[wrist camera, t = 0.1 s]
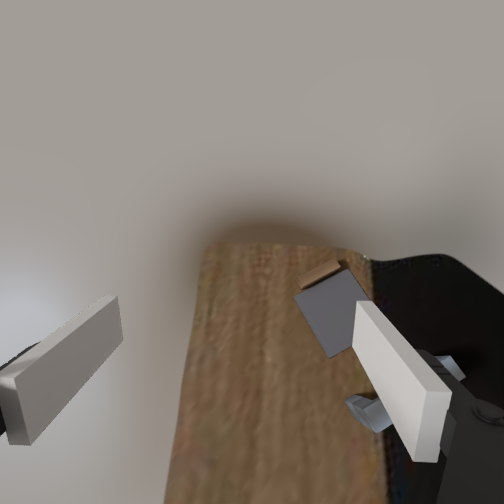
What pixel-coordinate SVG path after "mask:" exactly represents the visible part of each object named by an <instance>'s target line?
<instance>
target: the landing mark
mask: <svg viewBox="0 0 504 504" xmlns="http://www.w3.org/2000/svg"><path fill="white" fill-rule="evenodd" d="M294 299H295V301H296V303H297V304H298V306H299V308H300V310H301V311H302V313H303V315H304V317H305V318H306V320H307V322H308V323H309V325H310V327H311V329H312V330H313V332H314V334H315V336H316V337H317V339H318V341H319V342H320V344H321V346H322V348H323V349H324V351H325V353H326V355H327V356H328V358H331V357H333V356H335V355H336V354H338V353H340V352H341V351H343V350H345V349H347V348H348V347H350V346H352V343H353V333H354V324H355V314H356V304H357V301H370V300H369V298H368V297H367V295H366V294H365V292H364V291H363V290H362V288H361V287H360V285H359V284H358V282H357V281H356V279H355V278H354V276H353V275H352V273H351V272H350V270H349V269H348V268H347V269H345V270H343V271H341V272H340V273H338V274H336V275H334V276H332V277H330V278H328V279H326V280H324V281H323V282H321V283H319V284H317V285H315V286H313V287H311V288H309V289H307V290H306V291H304V292H302V293H300V294H298V295H296V296H294Z"/></svg>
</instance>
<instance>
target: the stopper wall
mask: <svg viewBox="0 0 504 504" xmlns="http://www.w3.org/2000/svg"><path fill="white" fill-rule="evenodd" d="M340 267H341V266H340V265H339V263H338V262H337V260H336V259H335V258H333V259H331V260H329V261H327V262H325V263H323V264H322V265H320V266H318V267H316V268H314V269H312V270H310V271H308V272H306V273H304V274H302V275H300V276H298V277H297V279H296V282H297V284H298V285H299V287H300V289H301V290H302V289H304V288H306V287H308V286H310V285H311V284H313V283H315V282H317V281H319V280H321V279H323V278H325V277H327V276H329V275H330V274H332V273H334V272H336V271H338V269H339V268H340Z"/></svg>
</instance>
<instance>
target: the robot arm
mask: <svg viewBox="0 0 504 504" xmlns="http://www.w3.org/2000/svg"><path fill="white" fill-rule="evenodd" d="M122 341H123V335H122V327H121V319H120V312H119V304H118V297H117V296H103V297H102V298H100V299H99V300H98V301H96V302H95V303H94V304H92V305H91V306H89V307H88V308H87V309H85V310H84V311H83V312H81V313H80V314H78V315H77V316H76V317H74V318H73V319H72V320H70V321H69V322H67V323H66V324H65V325H63V326H62V327H60V328H59V329H58V330H56V331H55V332H54V333H52V334H51V335H49V336H48V337H47V338H46V339H44V340H42V341H40V342H39V343H36V344H34V345H32V346H30V347H28V348H26V349H25V350H24V351H22V352H21V353H19V354H18V355H17V357H14V358H12V359H11V360H9V361H8V363H5V364H4V365H2V366H1V367H0V436H1V435H2V434H3V433H4V432H5V431H6V433H7V437H8V441H9V444H10V445H31V444H32V443H33V442H34V441H35V440H36V439H37V438H38V436H39V435H40V434H41V433H42V432H43V431H44V430H45V429H46V427H47V426H48V425H49V424H50V423H51V422H52V420H53V419H54V418H55V417H56V416H57V415H58V414H59V413H60V411H61V410H62V409H63V408H64V407H65V406H66V405H67V403H68V402H69V401H70V400H71V399H72V398H73V397H74V396H75V394H76V393H77V392H78V391H79V390H80V389H81V388H82V386H83V385H84V384H85V383H86V382H87V381H88V380H89V379H90V377H91V376H92V375H93V374H94V373H95V372H96V371H97V369H98V368H99V367H100V366H101V365H102V364H103V363H104V361H105V360H106V359H107V358H108V357H109V356H110V355H111V353H112V352H113V351H114V350H115V349H116V348H117V347H118V345H119V344H120V343H121V342H122ZM352 347H353V349H354V350H355V352H356V354H357V356H358V358H359V360H360V362H361V364H362V366H363V367H364V369H365V371H366V373H367V375H368V377H369V379H370V381H371V383H372V384H373V386H374V388H375V390H376V392H377V394H378V396H379V398H380V399H381V401H382V403H383V405H384V407H385V409H386V411H387V413H388V415H389V416H390V418H391V420H392V422H393V424H394V426H395V428H396V430H397V432H398V433H399V435H400V437H401V439H402V441H403V443H404V445H405V447H406V448H407V450H408V452H409V454H410V456H411V458H412V460H413V461H416V462H437V460H438V456H439V451H440V448H441V449H442V451H443V452H444V454H445V455H446V457H447V462H446V466H445V470H444V474H443V478H442V482H441V486H440V490H439V494H438V498H437V502H436V504H504V411H503V410H502V409H500V408H499V407H497V406H495V405H493V404H491V403H488V402H485V401H482V400H478V399H476V398H475V397H474V396H473V395H472V394H471V393H470V392H469V391H468V390H467V389H466V388H465V387H464V386H463V385H462V384H461V383H460V382H459V381H458V380H457V379H456V378H455V377H454V376H453V375H452V374H451V373H450V372H449V370H448V369H447V368H445V367H444V365H443V364H442V363H441V362H440V361H439V360H438V359H437V358H436V357H434V356H433V355H431V354H429V353H428V352H426V351H425V350H414V349H413V347H412V346H411V345H410V344H409V343H408V342H407V341H406V339H405V338H404V337H403V336H402V335H401V334H400V333H399V332H398V330H397V329H396V328H395V327H394V326H393V325H392V324H391V323H390V321H389V320H388V319H387V318H386V317H385V316H384V315H383V314H382V312H381V311H380V310H379V309H378V308H377V307H376V306H375V305H374V303H373V302H372V301H357V304H356V314H355V324H354V333H353V343H352Z"/></svg>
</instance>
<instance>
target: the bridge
mask: <svg viewBox="0 0 504 504" xmlns="http://www.w3.org/2000/svg"><path fill="white" fill-rule="evenodd" d="M434 357H436V358H437V359H438V360H439V361H440V362H441V363H442V364H443V365H444V367H445V368H447V369H448V370H449V372H450V373H451V374H452V375H453V376H454V377H455V378H456V379H457V380H458V381H460V380H462V379H463V378H465V377H466V376H465V375H464V374H463V372H462V371H461V370H460V368H459V367H458V366H457V364H456V363H455V361H454V360H453V359H452V357H451V356H434ZM344 401H345V402H346V404H347V406H348V408H349V410H350V411H351V413H352V415H353V417H354V418H355V420H357V421H358V422H360V423H362V424H363V425H365V426H367V427H368V428H370V429H371V430H373V431H375V432H376V433H378V432H380V431H382V430H383V429H385V428H386V427H388V426H389V425H391V424H393V422H392V420H391V418H390V416H389V415H388V413H387V411H386V409H385V407H384V405H383V403H382V401H381V399H380V398H379V397H378V398H376V399H374V400H370V399H367V398H364V397H361V396H358V395H355V394H354V395H353V396H351V397H349V398H348V399H346V400H344Z"/></svg>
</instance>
